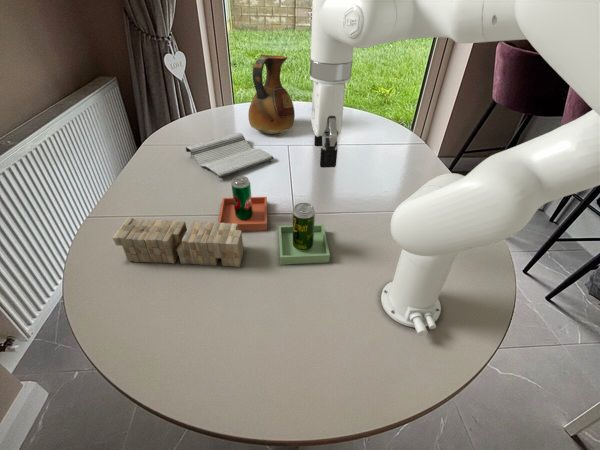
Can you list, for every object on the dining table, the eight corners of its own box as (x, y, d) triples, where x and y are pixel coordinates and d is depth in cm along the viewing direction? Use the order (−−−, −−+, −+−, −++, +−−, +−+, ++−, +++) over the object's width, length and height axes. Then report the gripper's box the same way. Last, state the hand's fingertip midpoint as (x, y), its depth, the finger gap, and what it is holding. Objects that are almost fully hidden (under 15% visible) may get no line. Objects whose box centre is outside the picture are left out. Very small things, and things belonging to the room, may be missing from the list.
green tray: (329, 262, 83) (330, 255, 82) (280, 264, 82) (280, 257, 81) (322, 231, 93) (323, 224, 91) (279, 232, 92) (278, 225, 90)
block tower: (245, 248, 88) (135, 240, 88) (243, 223, 83) (127, 215, 83) (239, 270, 82) (121, 261, 82) (237, 244, 76) (111, 235, 77)
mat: (220, 182, 112) (218, 170, 109) (187, 157, 125) (184, 146, 122) (274, 161, 124) (273, 150, 121) (239, 141, 138) (237, 130, 135)
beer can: (296, 236, 90) (297, 200, 82) (315, 241, 88) (318, 204, 81) (289, 249, 86) (289, 212, 78) (309, 254, 84) (311, 217, 77)
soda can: (249, 222, 94) (246, 186, 87) (232, 219, 95) (228, 183, 88) (255, 211, 98) (252, 176, 91) (238, 209, 99) (234, 174, 92)
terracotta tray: (267, 230, 93) (266, 223, 91) (218, 232, 92) (217, 225, 90) (266, 203, 103) (266, 196, 101) (223, 204, 102) (222, 197, 100)
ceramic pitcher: (302, 127, 150) (304, 54, 132) (277, 142, 137) (275, 64, 118) (267, 117, 158) (264, 47, 140) (240, 131, 145) (233, 56, 126)
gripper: (305, 59, 67) (303, 139, 78) (315, 84, 54) (311, 176, 64) (342, 59, 68) (335, 138, 78) (361, 84, 54) (349, 175, 65)
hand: (324, 155), depth 71 cm, fingers open, 9 cm apart
